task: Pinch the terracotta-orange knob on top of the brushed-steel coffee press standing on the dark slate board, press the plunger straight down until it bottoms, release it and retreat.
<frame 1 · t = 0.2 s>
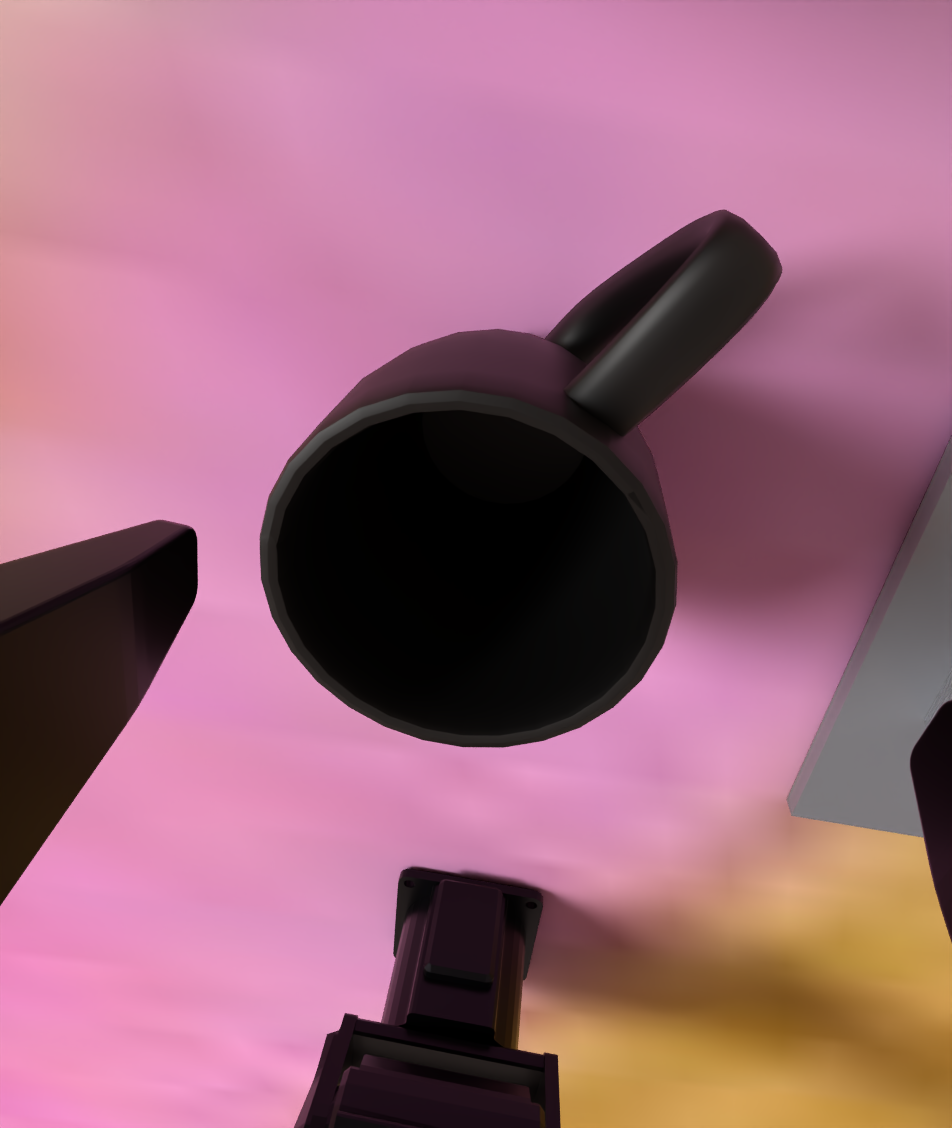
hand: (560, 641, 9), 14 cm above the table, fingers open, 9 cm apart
mug: (547, 376, 22), on the table
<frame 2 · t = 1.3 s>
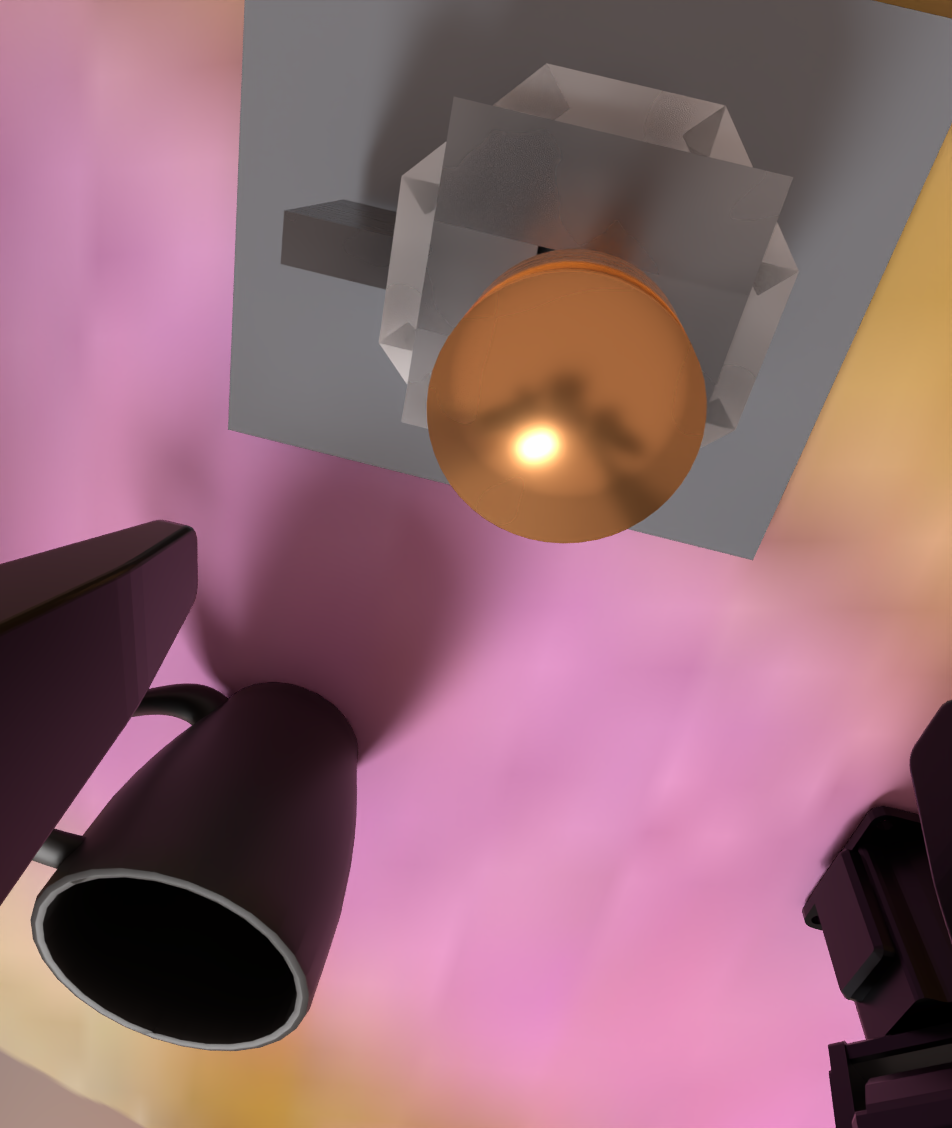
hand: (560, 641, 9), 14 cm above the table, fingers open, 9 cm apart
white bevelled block: (580, 274, 19), resting on slate board
plunger: (572, 342, 12), point 9 cm above the table, slide at 0.0 cm
slate board: (544, 261, 20), on the table
mug: (253, 704, 29), on the table
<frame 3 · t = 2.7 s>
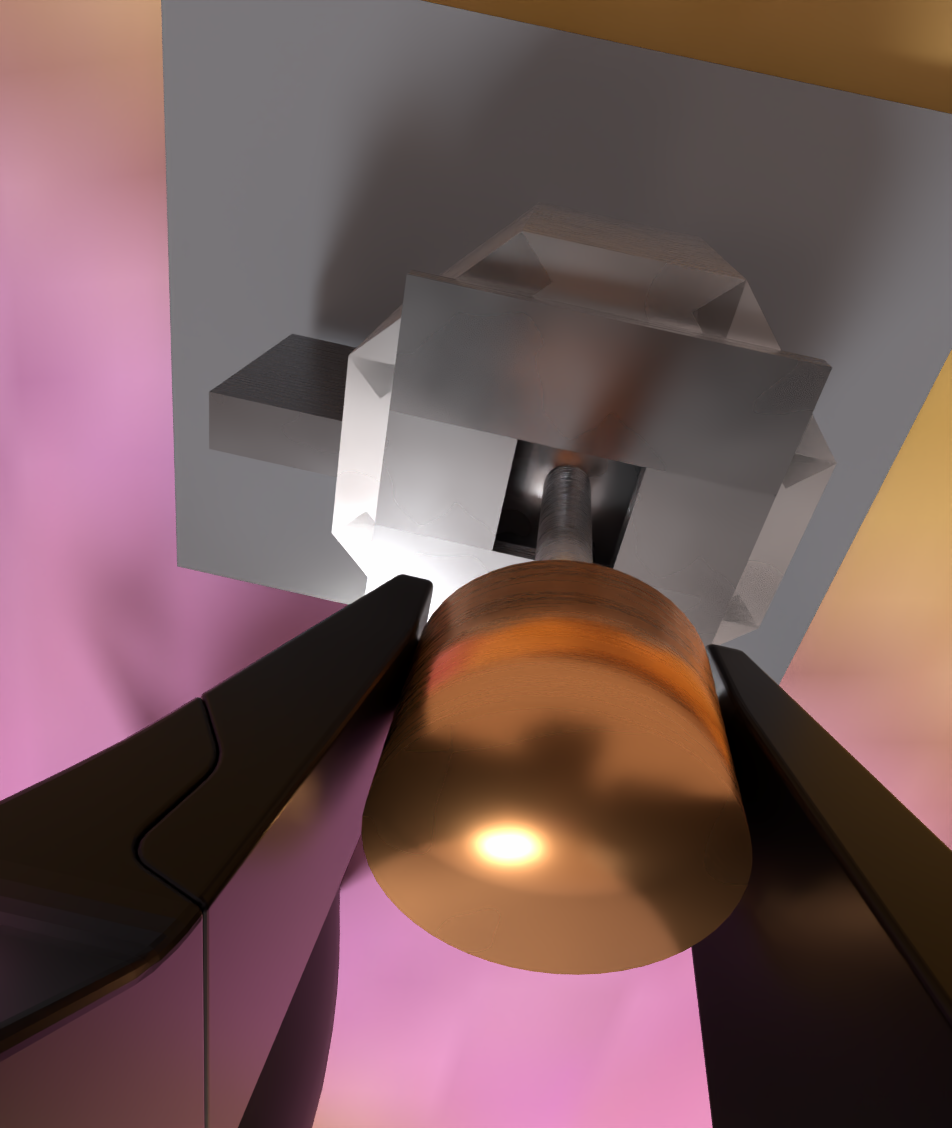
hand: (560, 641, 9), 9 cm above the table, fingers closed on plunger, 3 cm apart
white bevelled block: (570, 406, 16), resting on slate board
plunger: (562, 596, 10), point 9 cm above the table, slide at 0.0 cm, touching gripper
slate board: (528, 386, 17), on the table
mug: (226, 829, 27), on the table
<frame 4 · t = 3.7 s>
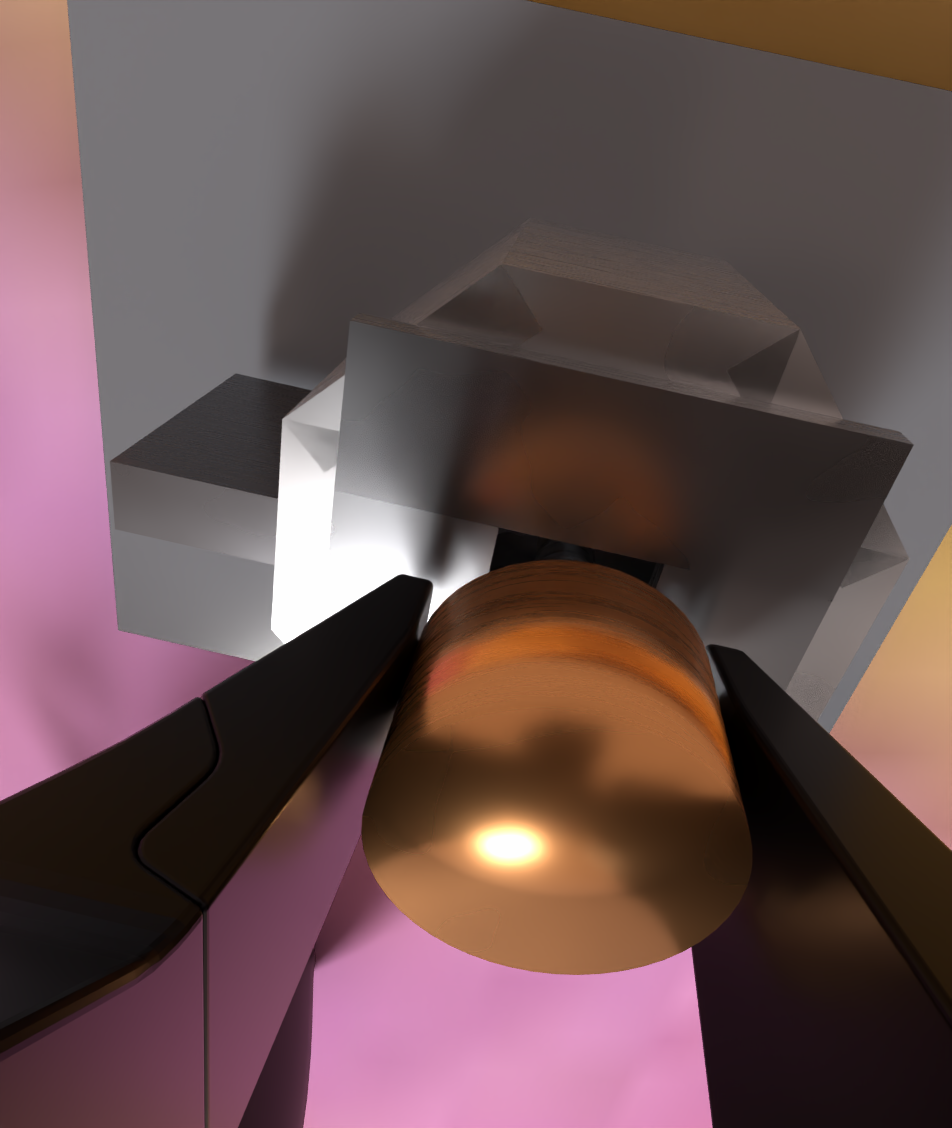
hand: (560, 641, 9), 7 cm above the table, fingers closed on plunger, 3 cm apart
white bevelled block: (568, 457, 14), resting on slate board
plunger: (562, 596, 10), point 6 cm above the table, slide at 3.0 cm, touching gripper
slate board: (518, 431, 14), on the table
mug: (188, 902, 24), on the table
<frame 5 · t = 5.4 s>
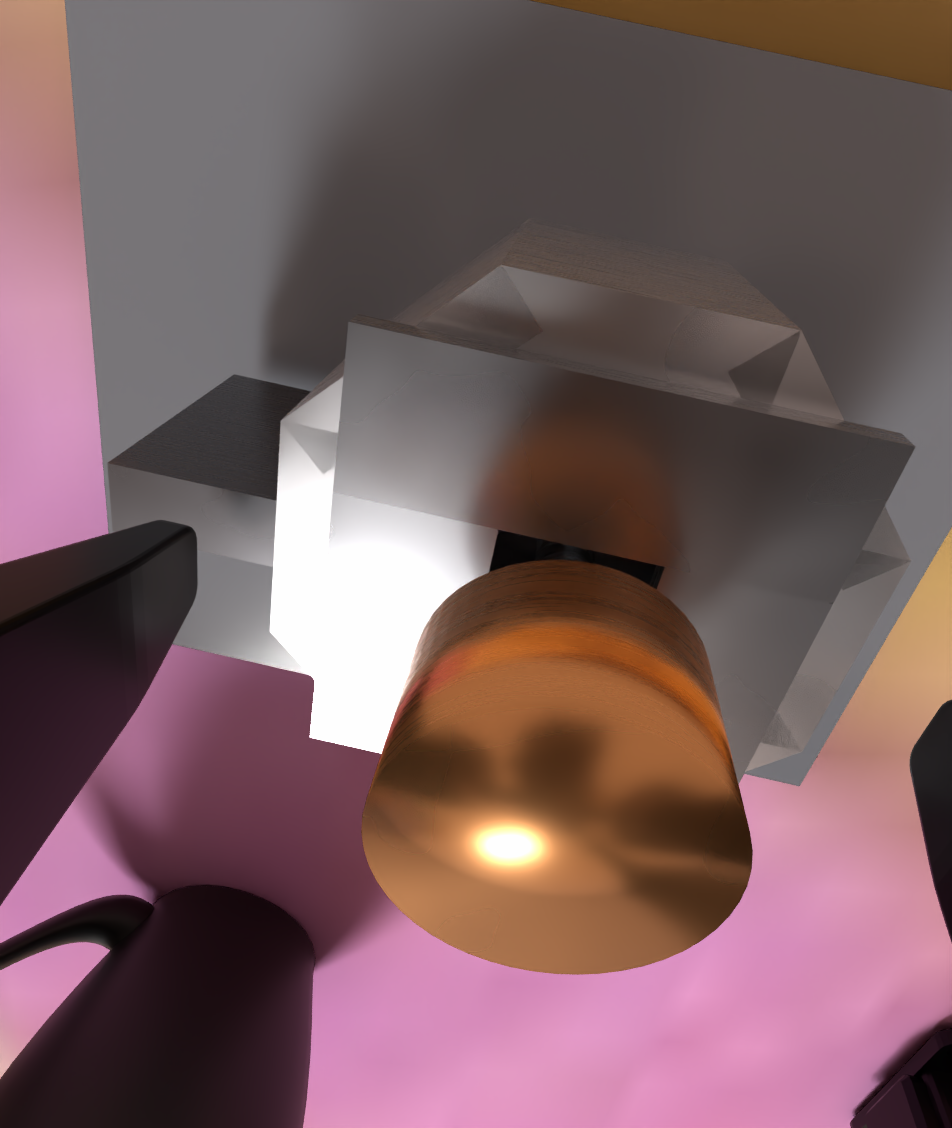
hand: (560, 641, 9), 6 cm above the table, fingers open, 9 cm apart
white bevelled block: (568, 458, 14), resting on slate board
plunger: (562, 596, 10), point 6 cm above the table, slide at 3.0 cm
slate board: (518, 431, 14), on the table
mug: (187, 904, 24), on the table
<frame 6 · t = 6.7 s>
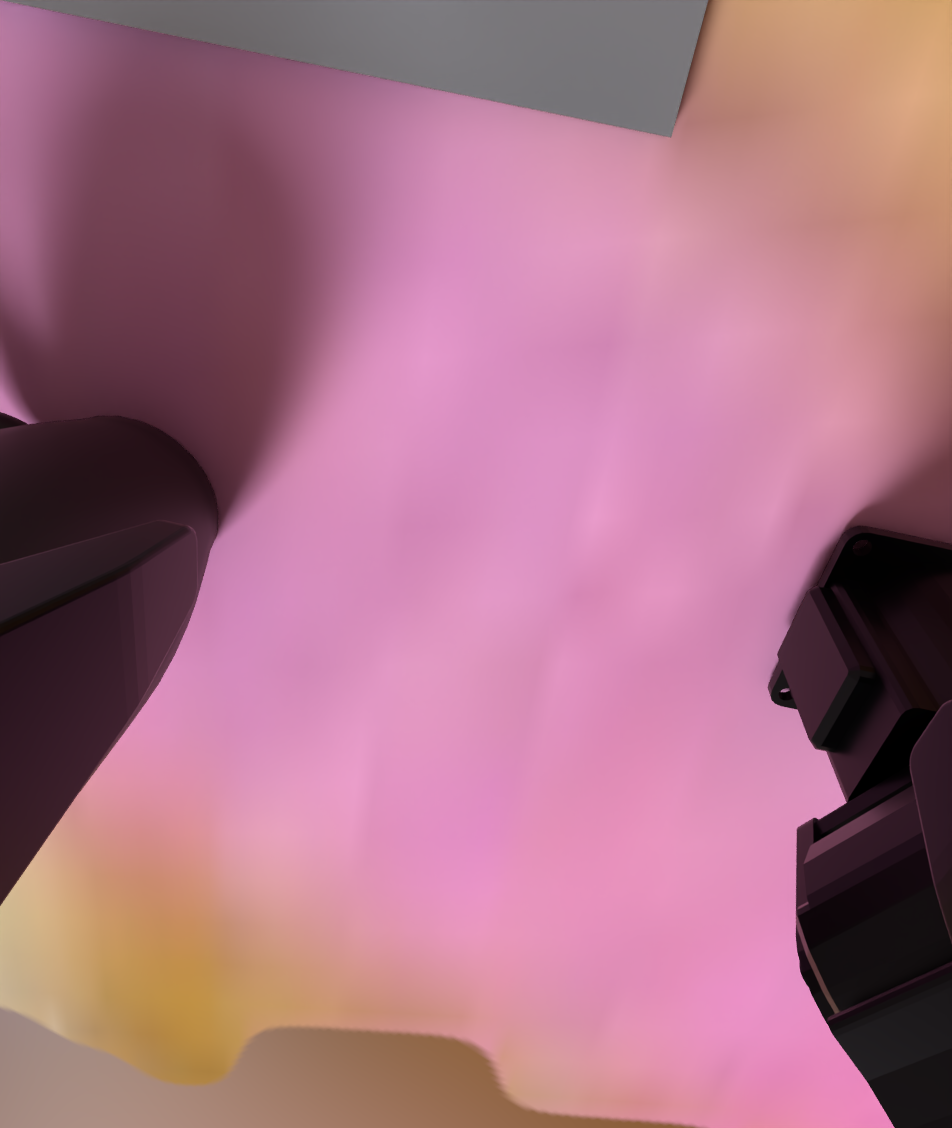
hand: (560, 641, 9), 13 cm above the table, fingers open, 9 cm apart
mug: (86, 456, 23), on the table
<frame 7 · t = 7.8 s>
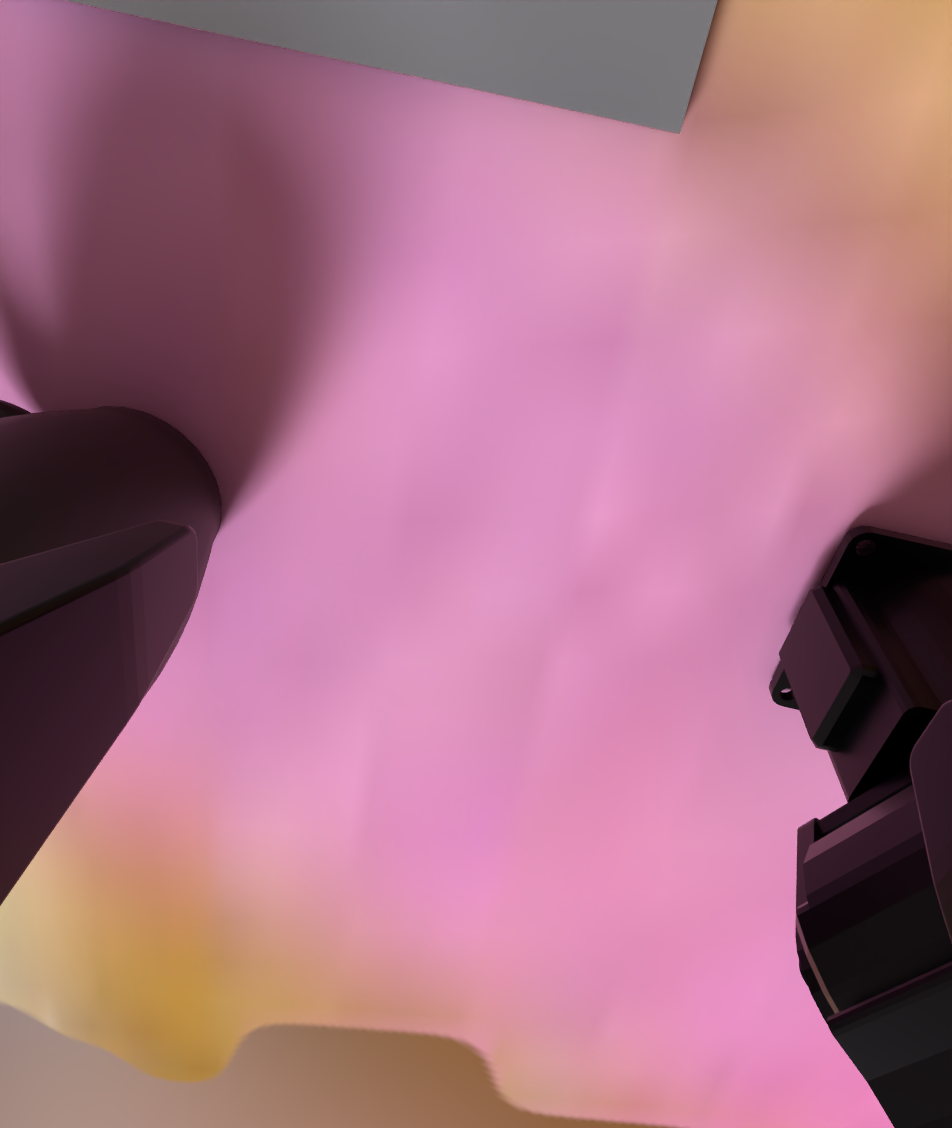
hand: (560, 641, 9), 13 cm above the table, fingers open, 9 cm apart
mug: (90, 447, 23), on the table
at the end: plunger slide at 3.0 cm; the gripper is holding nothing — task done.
